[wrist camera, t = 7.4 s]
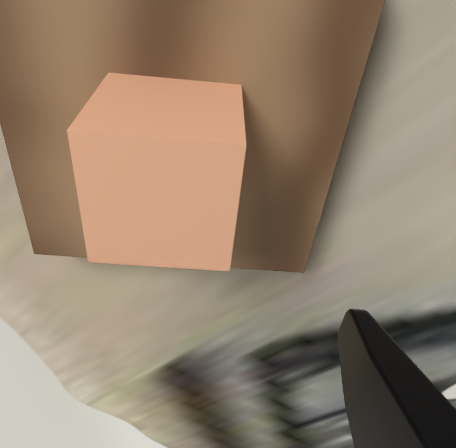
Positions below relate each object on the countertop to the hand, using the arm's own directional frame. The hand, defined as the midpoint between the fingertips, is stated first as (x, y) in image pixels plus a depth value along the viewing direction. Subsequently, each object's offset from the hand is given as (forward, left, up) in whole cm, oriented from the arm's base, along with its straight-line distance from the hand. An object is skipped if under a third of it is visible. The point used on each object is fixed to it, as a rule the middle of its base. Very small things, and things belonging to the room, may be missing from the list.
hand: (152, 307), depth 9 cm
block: (0, 0, -9) cm, 9 cm away
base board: (0, +1, -12) cm, 12 cm away
